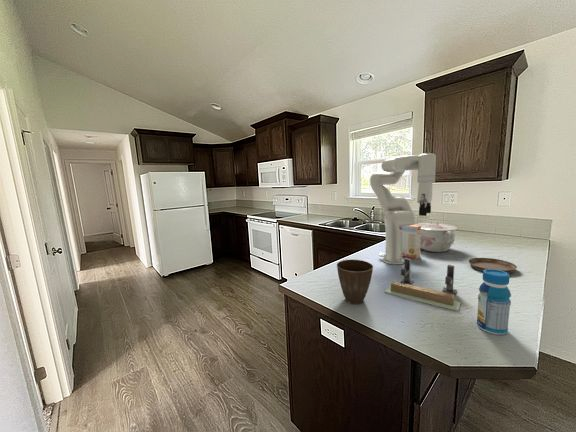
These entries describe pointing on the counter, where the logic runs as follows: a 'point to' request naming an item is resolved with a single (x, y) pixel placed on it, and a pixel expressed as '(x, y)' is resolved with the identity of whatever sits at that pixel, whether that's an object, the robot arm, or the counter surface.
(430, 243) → the chamber pot
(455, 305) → the board
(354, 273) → the plant pot
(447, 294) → the rail
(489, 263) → the plant saucer
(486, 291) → the beverage bottle
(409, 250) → the cracker box
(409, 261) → the bracket
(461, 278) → the counter surface
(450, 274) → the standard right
